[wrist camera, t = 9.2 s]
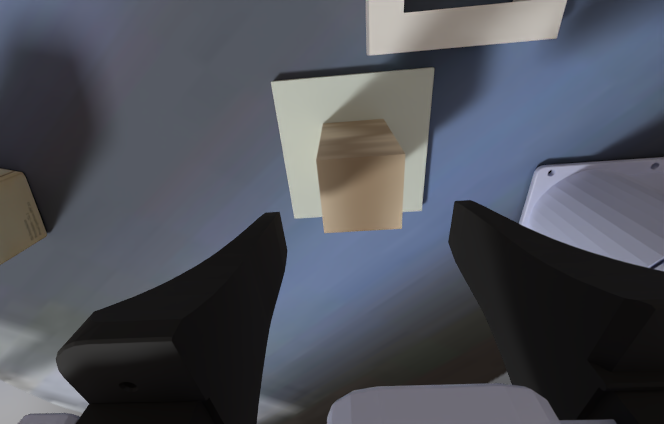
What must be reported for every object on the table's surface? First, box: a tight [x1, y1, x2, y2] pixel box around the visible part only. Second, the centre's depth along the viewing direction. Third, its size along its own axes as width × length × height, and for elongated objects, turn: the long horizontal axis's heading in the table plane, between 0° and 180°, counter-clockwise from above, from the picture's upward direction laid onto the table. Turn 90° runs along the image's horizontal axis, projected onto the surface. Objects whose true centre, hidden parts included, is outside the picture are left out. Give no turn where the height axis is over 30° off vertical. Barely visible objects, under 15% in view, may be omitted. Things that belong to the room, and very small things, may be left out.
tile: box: [271, 67, 434, 218], centre depth 20 cm, size 10×10×1 cm
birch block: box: [316, 119, 405, 233], centre depth 17 cm, size 4×4×7 cm
